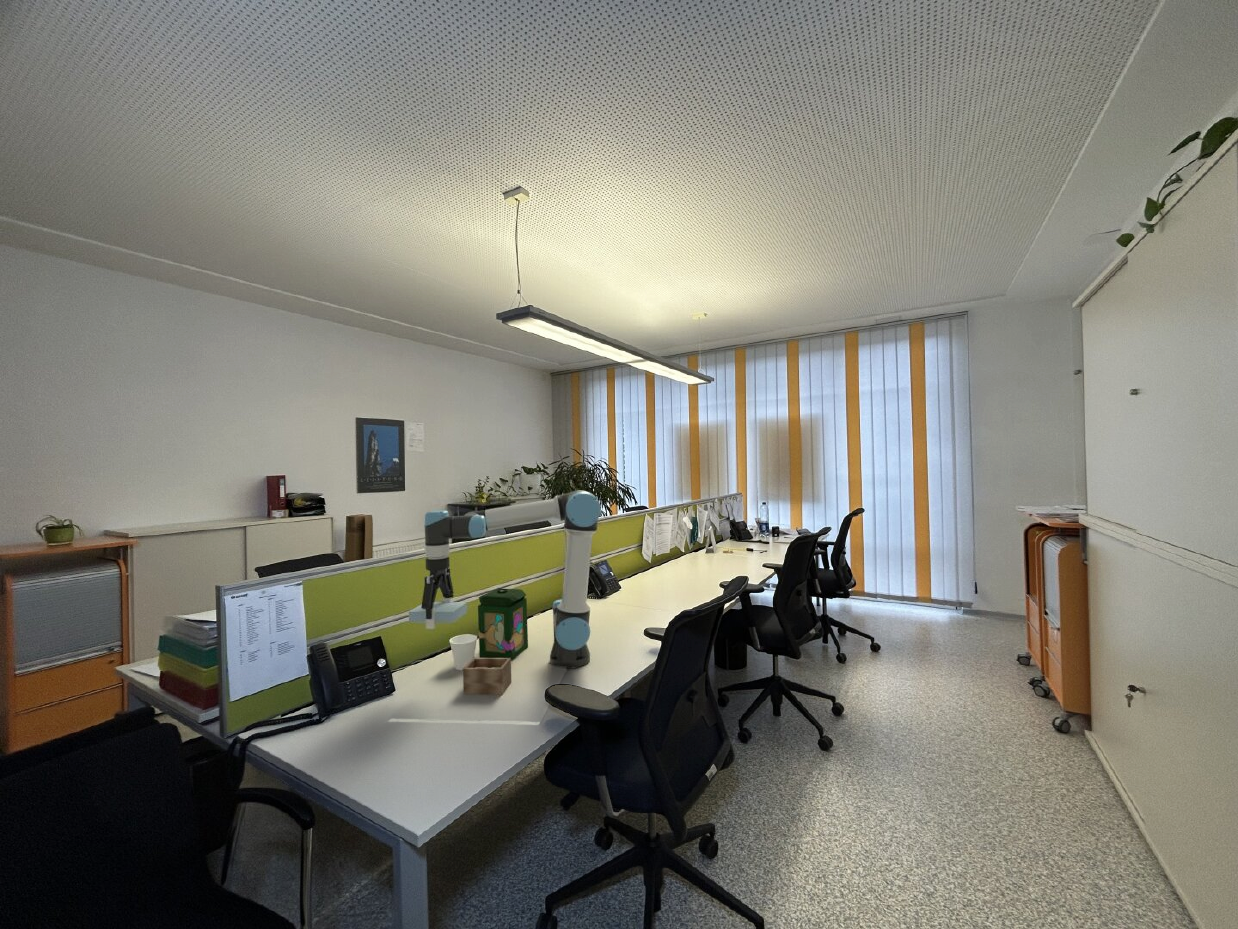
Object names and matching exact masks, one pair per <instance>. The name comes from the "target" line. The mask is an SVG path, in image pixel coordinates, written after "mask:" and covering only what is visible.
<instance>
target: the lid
mask: <svg viewBox="0 0 1238 929" xmlns="http://www.w3.org/2000/svg"><path fill="white" fill-rule="evenodd" d="M421 606H422V603H421V604H420V605H417V606H415V607H414V608H413V609H410V610H408V623H421V624H423V623H424V624H426V609H422V608H421ZM433 608H435V624H437V623H438V624H440V623H443V624H445V623H446V624H448V623H449V624H450V623H451V624H454V623H455V622H457V621H458V620H459V619H460V618H462V617H463V616H465V615H466V614H467V613H468V603H467V602H463V601H462V602H461V601H459V602H458V601H456V602H453V601H451V602H442V601H435V602H434V606H433Z"/></svg>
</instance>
